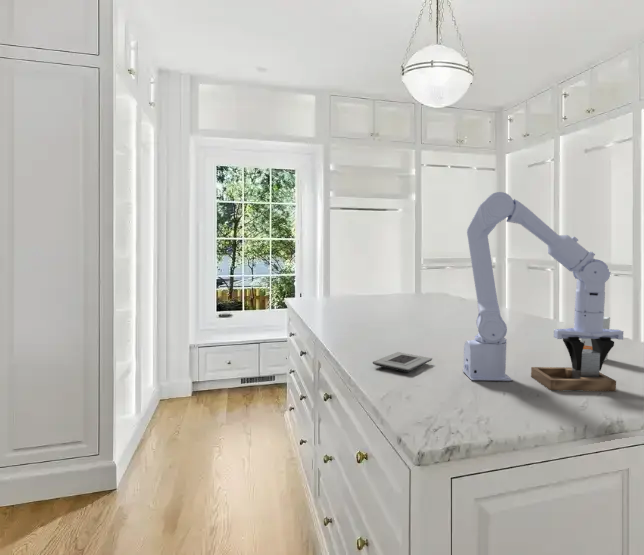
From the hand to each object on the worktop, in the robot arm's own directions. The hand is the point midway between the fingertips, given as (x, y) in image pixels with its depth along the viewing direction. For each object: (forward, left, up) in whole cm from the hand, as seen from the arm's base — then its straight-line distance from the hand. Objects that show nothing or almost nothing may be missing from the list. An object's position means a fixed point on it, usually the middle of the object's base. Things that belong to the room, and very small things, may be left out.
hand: (586, 369), depth 101 cm
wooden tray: (-3, 0, -3) cm, 5 cm away
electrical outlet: (-40, +13, -4) cm, 43 cm away
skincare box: (+14, +23, -4) cm, 27 cm away
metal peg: (0, 0, -3) cm, 3 cm away
